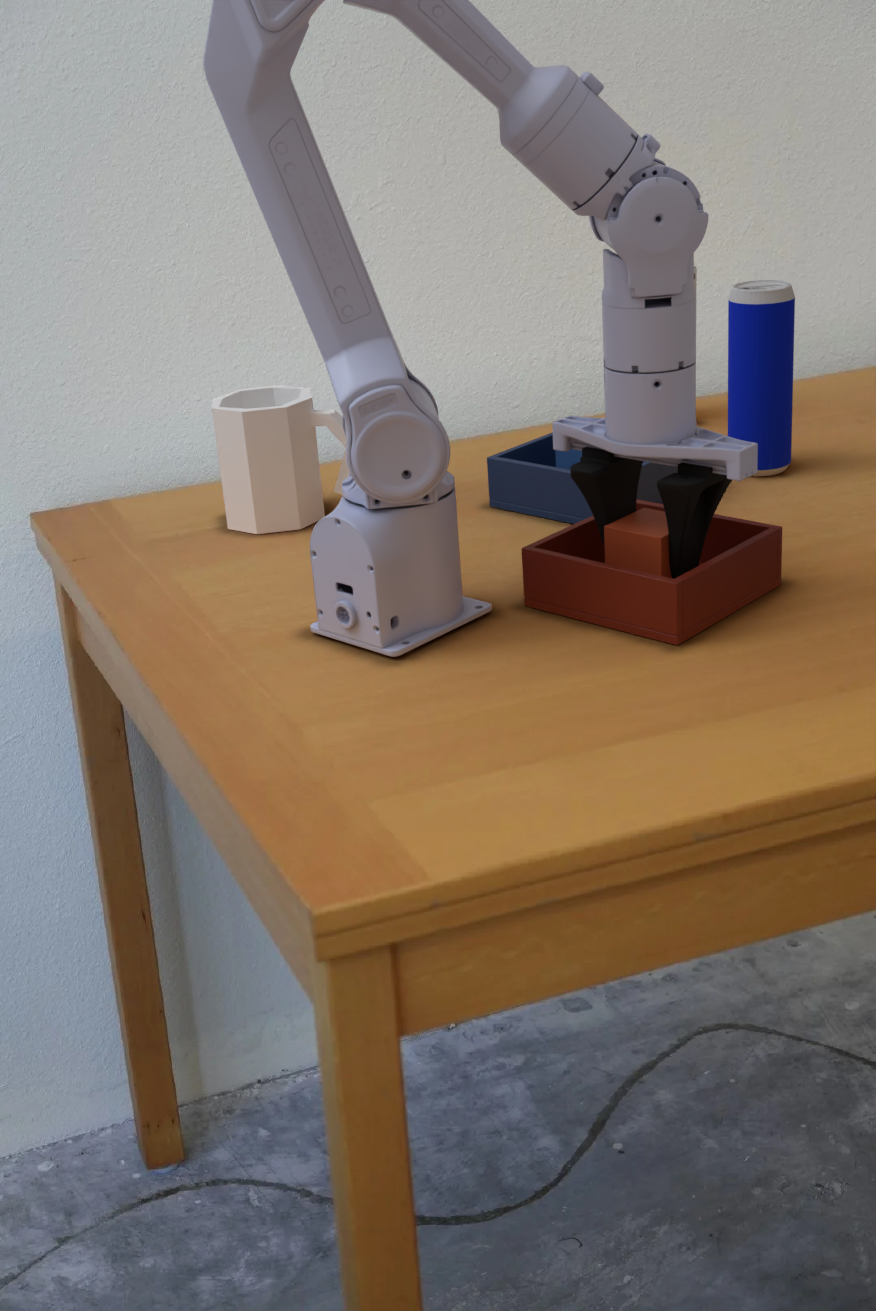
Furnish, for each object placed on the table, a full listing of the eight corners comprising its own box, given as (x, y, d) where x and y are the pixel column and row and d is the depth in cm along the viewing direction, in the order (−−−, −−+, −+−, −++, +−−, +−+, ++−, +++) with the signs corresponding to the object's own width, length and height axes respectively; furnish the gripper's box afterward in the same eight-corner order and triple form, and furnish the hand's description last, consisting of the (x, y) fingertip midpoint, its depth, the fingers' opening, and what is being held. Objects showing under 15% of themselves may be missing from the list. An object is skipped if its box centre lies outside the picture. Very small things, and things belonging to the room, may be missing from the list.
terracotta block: (661, 603, 95) (661, 537, 94) (605, 590, 98) (603, 526, 96) (700, 582, 98) (700, 518, 96) (645, 569, 101) (644, 507, 99)
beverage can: (787, 458, 125) (791, 277, 119) (794, 476, 120) (799, 289, 114) (725, 460, 125) (726, 281, 119) (729, 479, 120) (730, 293, 114)
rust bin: (677, 645, 90) (676, 583, 89) (524, 605, 98) (520, 547, 97) (781, 584, 98) (782, 526, 97) (632, 552, 106) (630, 497, 105)
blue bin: (612, 532, 111) (611, 479, 109) (489, 506, 118) (486, 457, 117) (703, 489, 119) (703, 439, 117) (582, 467, 126) (580, 420, 125)
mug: (210, 534, 117) (193, 412, 113) (246, 500, 125) (231, 385, 121) (355, 534, 114) (343, 410, 110) (383, 500, 122) (372, 382, 118)
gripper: (785, 360, 90) (781, 569, 96) (595, 340, 99) (601, 531, 105) (722, 386, 86) (721, 603, 91) (528, 362, 95) (538, 561, 100)
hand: (652, 567), depth 98 cm, fingers closed on terracotta block, 4 cm apart
